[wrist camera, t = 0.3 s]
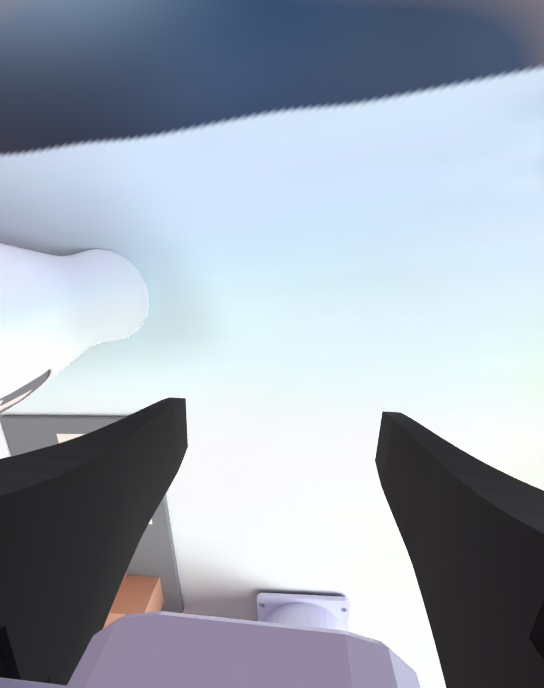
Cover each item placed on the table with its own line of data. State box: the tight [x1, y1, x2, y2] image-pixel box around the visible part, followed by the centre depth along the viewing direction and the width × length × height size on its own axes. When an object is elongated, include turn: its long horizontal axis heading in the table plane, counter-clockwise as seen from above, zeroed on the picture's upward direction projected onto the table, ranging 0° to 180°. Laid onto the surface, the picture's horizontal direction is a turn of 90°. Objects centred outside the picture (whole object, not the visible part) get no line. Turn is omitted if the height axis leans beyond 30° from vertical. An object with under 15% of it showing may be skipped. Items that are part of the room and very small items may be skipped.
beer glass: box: [0, 243, 150, 413], centre depth 13 cm, size 7×7×15 cm
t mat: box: [0, 416, 183, 613], centre depth 26 cm, size 20×12×1 cm, turn 2°
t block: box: [103, 573, 164, 629], centre depth 25 cm, size 8×9×3 cm
